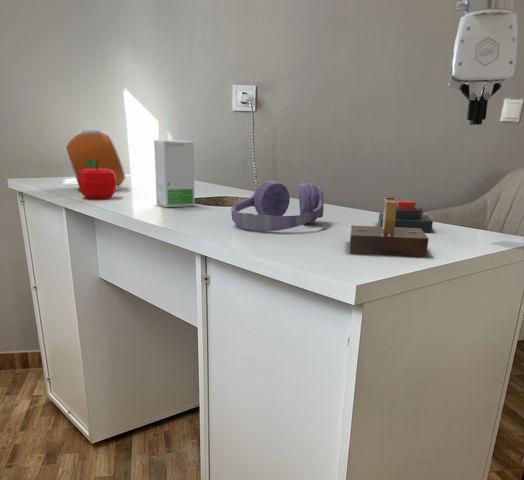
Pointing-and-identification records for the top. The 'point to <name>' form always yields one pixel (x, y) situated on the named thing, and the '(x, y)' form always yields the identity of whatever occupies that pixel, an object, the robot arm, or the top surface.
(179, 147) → the cosmetic box
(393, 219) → the lock knob
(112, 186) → the apple
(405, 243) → the plate
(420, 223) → the block
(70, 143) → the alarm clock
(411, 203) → the bell button
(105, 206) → the top surface
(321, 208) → the headphones
